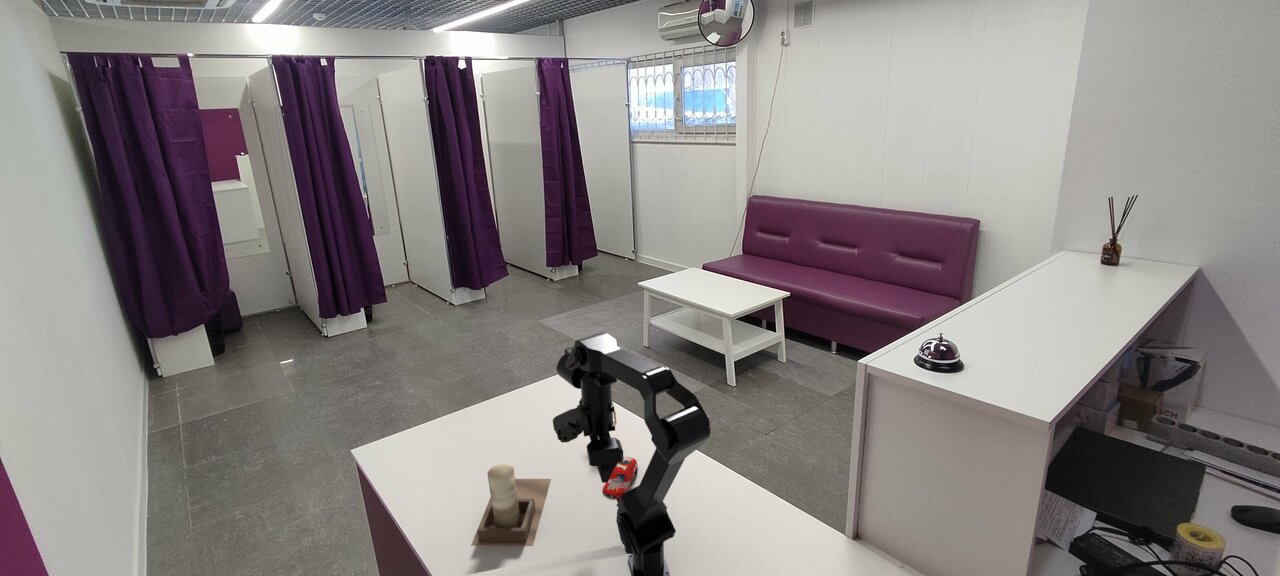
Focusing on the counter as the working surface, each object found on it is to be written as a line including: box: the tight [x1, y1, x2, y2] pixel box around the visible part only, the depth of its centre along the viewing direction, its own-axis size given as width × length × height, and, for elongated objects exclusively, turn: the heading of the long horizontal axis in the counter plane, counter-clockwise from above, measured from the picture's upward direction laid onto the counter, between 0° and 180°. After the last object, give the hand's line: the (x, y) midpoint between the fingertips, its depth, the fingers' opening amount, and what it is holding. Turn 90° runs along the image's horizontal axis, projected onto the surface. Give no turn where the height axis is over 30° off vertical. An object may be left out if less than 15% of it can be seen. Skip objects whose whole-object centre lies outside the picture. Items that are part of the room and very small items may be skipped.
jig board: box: [470, 478, 552, 547], centre depth 121 cm, size 20×12×4 cm, turn 178°
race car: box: [601, 456, 639, 502], centre depth 130 cm, size 13×5×4 cm, turn 162°
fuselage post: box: [487, 463, 521, 528], centre depth 115 cm, size 5×5×13 cm
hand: (600, 467), depth 115 cm, fingers open, 9 cm apart
